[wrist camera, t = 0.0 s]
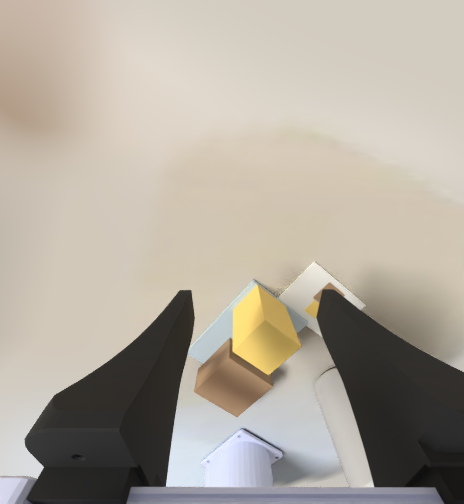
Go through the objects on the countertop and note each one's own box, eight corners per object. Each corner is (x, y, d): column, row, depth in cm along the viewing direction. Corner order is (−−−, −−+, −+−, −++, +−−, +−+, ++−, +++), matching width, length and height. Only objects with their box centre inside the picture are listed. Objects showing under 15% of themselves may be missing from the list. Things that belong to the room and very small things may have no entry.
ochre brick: (260, 329, 25) (268, 375, 19) (232, 310, 24) (232, 351, 18) (285, 305, 24) (301, 346, 18) (257, 284, 23) (265, 320, 17)
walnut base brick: (236, 392, 28) (237, 417, 25) (198, 368, 27) (193, 391, 24) (268, 363, 26) (273, 386, 24) (229, 337, 25) (229, 357, 22)
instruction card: (324, 339, 26) (325, 340, 26) (274, 300, 24) (274, 302, 24) (365, 304, 24) (366, 305, 24) (314, 261, 23) (315, 262, 22)
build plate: (238, 381, 28) (238, 386, 28) (187, 349, 26) (186, 353, 26) (306, 320, 25) (308, 323, 24) (253, 279, 23) (253, 281, 23)
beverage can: (371, 387, 28) (464, 528, 17) (326, 407, 29) (384, 552, 18) (350, 354, 27) (436, 486, 15) (302, 377, 28) (350, 516, 16)
